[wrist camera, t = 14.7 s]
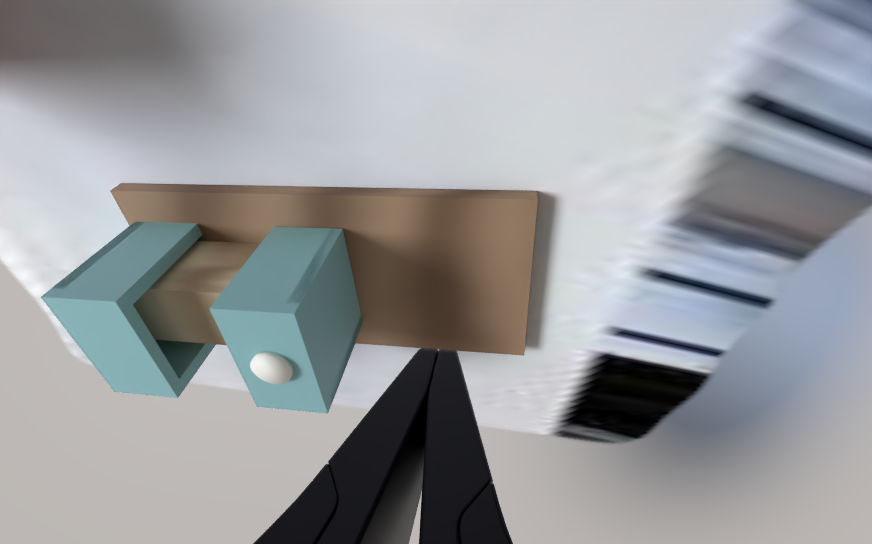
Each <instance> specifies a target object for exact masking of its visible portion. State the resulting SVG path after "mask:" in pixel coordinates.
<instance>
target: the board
mask: <svg viewBox="0 0 872 544" xmlns="http://www.w3.org/2000/svg"><path fill="white" fill-rule="evenodd" d="M111 193H112V195H113V197H114V198H115V200H116V202H117V204H118V206H119V207H120V209H121V211H122V213H123V215H124V217H125V218H126V220H127V222H128V224H129V226H130V225H132V224H133V223H134V222H135V221H137V222H167V223H197V224H198V226H199V229H200V231H201V233H202V236H201V237H200V238H199V239H198V240H197V241H212V242H238V243H261V242H262V241H263V240H264V239H265V237H266V236H267V235H268V234H269V232H270V231H271V230H272V228H273V227H304V228H334V229H343V233H344V237H345V242H346V247H347V251H348V256H349V261H350V265H351V270H352V274H353V279H354V284H355V288H356V293H357V298H358V302H359V307H360V311H361V316H362V321H363V324H362V327H361V329H360V332H359V335H358V337H357V340H356V342H355V343H360V344H374V345H388V346H402V347H416V348H432V349H446V350H457V351H471V352H485V353H498V354H512V355H524V351H525V339H526V328H527V317H528V306H529V294H530V283H531V272H532V260H533V249H534V238H535V227H536V215H537V204H538V192H537V191H507V190H452V189H398V188H343V187H289V186H234V185H180V184H126V183H121V184H119V185H118V186H117V187H115V188H114V189H112V190H111Z"/></svg>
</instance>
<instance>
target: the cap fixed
mask: <svg viewBox="0 0 872 544" xmlns="http://www.w3.org/2000/svg"><path fill="white" fill-rule="evenodd" d="M201 236H202V233H201V231H200V229H199V226H198V224H197V223H167V222H137V221H135V222H134V223H133V224H132V225H130V226H129V227H128V228H127V229H125V230H124V231H123V232H122V233H120V234H119V235H118V236H117V237H115V238H114V239H113V240H112V241H110V242H109V243H108V244H107V245H105V246H104V247H103V248H102V249H100V250H99V251H98V252H97V253H95V254H94V255H93V256H92V257H90V258H89V259H88V260H87V261H85V262H84V263H83V264H82V265H80V266H79V267H78V268H77V269H75V270H74V271H73V272H71V273H70V274H69V275H68V276H66V277H65V278H64V279H63V280H61V281H60V282H59V283H58V284H56V285H55V286H54V287H53V288H51V289H50V290H49V291H48V292H46V293H45V294H44V295H43V296H41V298H42V299H43V301H44V302H45V303H46V304H47V306H48V307H49V308H50V310H51V311H52V312H53V313H54V315H55V316H56V317H57V319H58V320H59V321H60V322H61V324H62V325H63V326H64V328H65V329H66V330H67V331H68V333H69V334H70V335H71V337H72V338H73V339H74V340H75V342H76V343H77V344H78V346H79V347H80V348H81V349H82V351H83V352H84V353H85V355H86V356H87V357H88V358H89V360H90V361H91V362H92V364H93V365H94V366H95V367H96V369H97V370H98V371H99V372H100V374H101V375H102V376H103V378H104V379H105V380H106V381H107V383H108V384H109V385H110V386H111V388H112V389H113V391H114V392H123V393H133V394H143V395H153V396H163V397H174V398H178V397H179V396H180V394H181V393H182V391H183V390H184V389H185V387H186V386H187V384H188V383H189V382H190V380H191V379H192V377H193V376H194V374H195V373H196V372H197V370H198V369H199V367H200V366H201V365H202V363H203V362H204V360H205V359H206V358H207V356H208V355H209V353H210V352H211V351H212V349H213V348H214V346H215V345H216V344H207V343H194V342H181V341H168V340H155V339H154V338H153V336H152V335H151V333H150V331H149V330H148V328H147V327H146V325H145V323H144V322H143V320H142V319H141V317H140V315H139V314H138V312H137V311H136V309H135V307H134V306H133V304H134V303H135V302H136V301H137V300H138V299H139V298H140V297H141V296H142V295H143V294H144V293H145V292H146V291H147V290H148V289H149V288H150V287H151V286H152V285H153V284H154V283H155V282H156V281H157V280H158V279H159V278H160V277H161V276H162V275H163V274H164V273H165V272H166V271H167V270H168V269H169V268H170V267H171V266H172V265H173V264H174V263H175V262H176V261H177V260H178V259H179V258H180V257H181V256H182V255H183V254H184V253H185V252H186V251H187V250H188V249H189V248H190V247H191V246H192V245H193V244H194V243H195V242H196V241H197V240H198V239H199V238H200V237H201Z"/></svg>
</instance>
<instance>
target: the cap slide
mask: <svg viewBox="0 0 872 544" xmlns="http://www.w3.org/2000/svg"><path fill="white" fill-rule="evenodd" d="M209 309H210V311H211V313H212V316H213V318H214V320H215V322H216V324H217V326H218V328H219V330H220V332H221V334H222V336H223V338H224V340H225V342H226V344H227V346H228V348H229V350H230V352H231V354H232V356H233V359H234V361H235V363H236V365H237V367H238V369H239V371H240V373H241V375H242V377H243V379H244V381H245V383H246V385H247V387H248V389H249V391H250V393H251V395H252V397H253V399H254V402H255V404H256V406H257V407H267V408H277V409H288V410H298V411H308V412H318V413H328V412H329V409H330V406H331V404H332V401H333V399H334V396H335V394H336V391H337V388H338V386H339V383H340V381H341V378H342V376H343V373H344V370H345V368H346V365H347V363H348V360H349V358H350V355H351V352H352V350H353V347H354V345H355V342H356V340H357V337H358V335H359V332H360V329H361V327H362V324H363V321H362V316H361V311H360V307H359V302H358V298H357V293H356V288H355V284H354V279H353V274H352V270H351V265H350V261H349V256H348V251H347V247H346V242H345V237H344V233H343V229H334V228H304V227H273V228H272V230H271V231H270V232H269V234H268V235H267V236H266V237H265V239H264V240H263V241H262V242H261V244H260V245H259V246H258V247H257V249H256V250H255V251H254V252H253V254H252V255H251V256H250V258H249V259H248V260H247V261H246V263H245V264H244V265H243V266H242V268H241V269H240V270H239V271H238V273H237V274H236V275H235V276H234V278H233V279H232V280H231V282H230V283H229V284H228V285H227V287H226V288H225V289H224V290H223V292H222V293H221V294H220V295H219V297H218V298H217V299H216V300H215V302H214V303H213V304H212V306H211V307H210V308H209Z"/></svg>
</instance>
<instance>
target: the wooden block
mask: <svg viewBox="0 0 872 544" xmlns="http://www.w3.org/2000/svg"><path fill="white" fill-rule="evenodd" d="M260 244H261V243H238V242H212V241H196V242H195V243H194V244H193V245H192V246H191V247H190V248H189V249H188V250H187V251H186V252H185V253H184V254H183V255H182V256H181V257H180V258H179V259H178V260H177V261H176V262H175V263H174V264H173V265H172V266H171V267H170V268H169V269H168V270H167V271H166V272H165V273H164V274H163V275H162V276H161V277H160V278H159V279H158V280H157V281H156V282H155V283H154V284H153V285H152V286H151V287H150V288H149V289H148V290H147V291H146V292H145V293H144V294H143V295H142V296H141V297H140V298H139V299H138V300H137V301H136V302H135V303H134V304H133V306H134V307H135V309H136V311H137V312H138V314H139V315H140V317H141V319H142V320H143V322H144V323H145V325H146V327H147V328H148V330H149V331H150V333H151V335H152V336H153V338H154V339H155V340H168V341H181V342H194V343H207V344H220V345H227V344H226V342H225V340H224V338H223V336H222V334H221V332H220V330H219V328H218V326H217V324H216V322H215V320H214V318H213V316H212V313H211V311H210V309H209V308H210V307H211V306H212V304H213V303H214V302H215V300H216V299H217V298H218V297H219V295H220V294H221V293H222V292H223V290H224V289H225V288H226V287H227V285H228V284H229V283H230V282H231V280H232V279H233V278H234V276H235V275H236V274H237V273H238V271H239V270H240V269H241V268H242V266H243V265H244V264H245V263H246V261H247V260H248V259H249V258H250V256H251V255H252V254H253V252H254V251H255V250H256V249H257V247H258V246H259V245H260Z"/></svg>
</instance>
